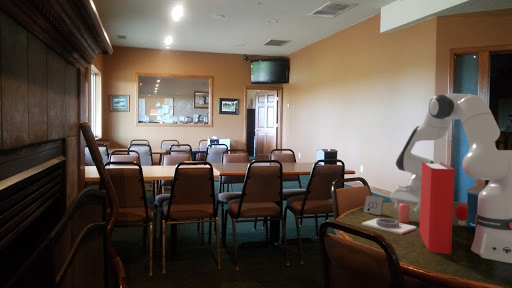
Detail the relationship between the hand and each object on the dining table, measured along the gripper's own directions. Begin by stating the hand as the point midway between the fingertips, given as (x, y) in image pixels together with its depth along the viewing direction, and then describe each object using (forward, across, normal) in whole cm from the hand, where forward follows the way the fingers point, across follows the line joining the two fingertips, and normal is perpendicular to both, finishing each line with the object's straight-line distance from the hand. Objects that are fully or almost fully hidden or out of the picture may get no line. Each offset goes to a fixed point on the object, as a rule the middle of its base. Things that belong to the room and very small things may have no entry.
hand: (404, 209), depth 188 cm
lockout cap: (+5, 0, +3) cm, 6 cm away
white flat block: (+15, 0, -7) cm, 17 cm away
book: (+20, +24, -12) cm, 34 cm away
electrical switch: (+2, -19, +6) cm, 20 cm away
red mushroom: (-5, +22, +14) cm, 26 cm away
